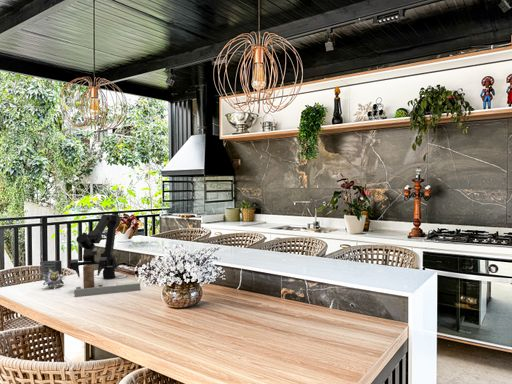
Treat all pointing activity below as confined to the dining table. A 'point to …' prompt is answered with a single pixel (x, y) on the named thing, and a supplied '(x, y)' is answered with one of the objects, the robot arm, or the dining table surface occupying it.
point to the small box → (51, 267)
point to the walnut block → (88, 276)
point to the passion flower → (52, 279)
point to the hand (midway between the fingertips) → (88, 276)
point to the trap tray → (107, 289)
